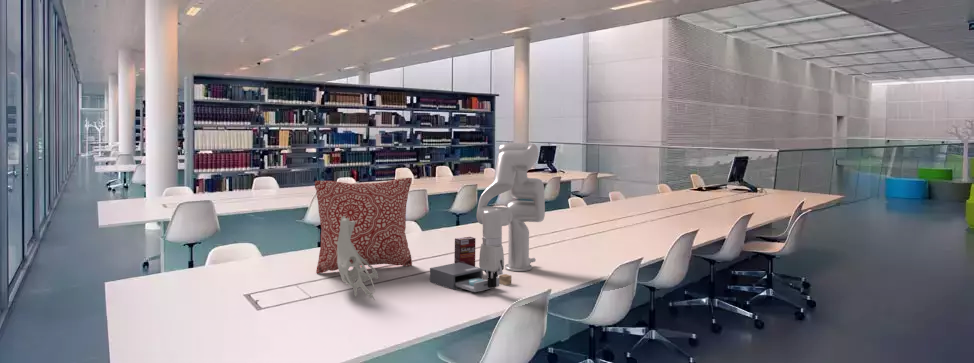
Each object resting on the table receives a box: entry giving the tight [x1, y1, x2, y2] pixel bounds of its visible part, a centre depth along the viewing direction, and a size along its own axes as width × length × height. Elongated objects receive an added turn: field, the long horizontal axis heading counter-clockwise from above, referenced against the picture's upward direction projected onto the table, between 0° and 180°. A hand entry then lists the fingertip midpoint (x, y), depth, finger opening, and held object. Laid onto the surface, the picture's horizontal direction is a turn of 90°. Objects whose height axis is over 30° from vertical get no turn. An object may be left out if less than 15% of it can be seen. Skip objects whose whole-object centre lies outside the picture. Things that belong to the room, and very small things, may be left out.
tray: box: [455, 276, 500, 293], centre depth 236 cm, size 13×15×4 cm
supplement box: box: [453, 236, 476, 267], centre depth 260 cm, size 9×5×16 cm, turn 126°
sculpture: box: [337, 216, 380, 301], centre depth 229 cm, size 32×18×30 cm, turn 15°
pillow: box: [314, 177, 413, 274], centre depth 265 cm, size 44×16×42 cm, turn 112°
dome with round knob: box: [469, 278, 484, 286], centre depth 236 cm, size 6×6×2 cm
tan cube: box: [498, 273, 512, 286], centre depth 243 cm, size 4×4×4 cm
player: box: [429, 262, 484, 291], centre depth 245 cm, size 16×16×6 cm
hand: (492, 287), depth 229 cm, fingers closed
